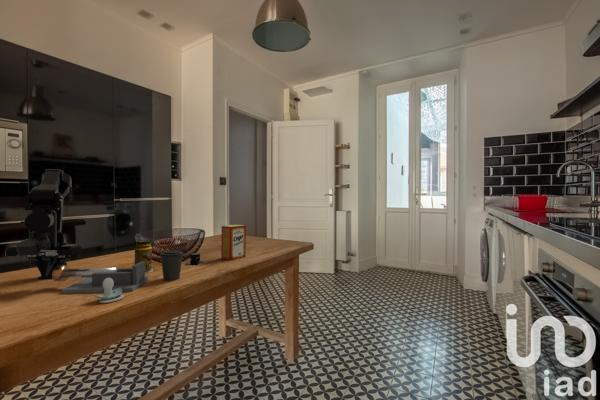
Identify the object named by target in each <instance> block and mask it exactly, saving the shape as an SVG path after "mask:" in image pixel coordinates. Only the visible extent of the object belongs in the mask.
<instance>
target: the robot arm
mask: <svg viewBox="0 0 600 400" xmlns="http://www.w3.org/2000/svg"><path fill="white" fill-rule="evenodd" d="M72 187H73V183H72V177H71V175H70V174H68V173H67V172H64V170H61V169H55V168H47V169H44V172H43V173H42V175H41V181H40V184H39V185H36V186H34V187H32V188H31V190H30V191H29V192H28V193H27V196H26V197H27V198H26V203H25V208H24V210H25V211H29V212H30V211H31V213H29V214H28V215H27V216H26V217H25V219H24V225H25V227H26V228H27V229H28V230H30V231H31V232H29V234H28V237H27V238H26V239H24V240H22V241H20V242H19V243H18V244H16V245H12V246H8V247H7V248H6V249H5V252H4V253H5V254H4V255H5V257H17V256H21V257H22V256H26V257H25V258H26V259H28V260H31V261H32V262H34V264H35V265H36V267H37V269H38V271H39V274H40V276H37V279H53V278H52V273H53V270H54V268H55V267H56V266H64V265H66V266H68V262H66V260H68V259H70V258H71V256H73V255H76V254H79V253H82V251H83V250H82V246H81V245H80V244H79V243H68V242H67V239H66V238H65V236H64V234H63V233H62V228H63V227H62V226H63V215H64V214H63V213H64V199H65V197H67V196H68V194H69V193H70V188H72Z"/></svg>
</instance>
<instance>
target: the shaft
mask: <svg viewBox="0 0 600 400" xmlns="http://www.w3.org/2000/svg"><path fill="white" fill-rule="evenodd" d="M118 268H119V267H87V268H86V267H81V268H80V267H79V268H78V267H77V268H74V267H73V268H69V266H68V265H67V266H66V265H64V266H56V267H55V268H54V270H53V273H52V278H51V279H52V280H53V281H54V282H66V281H67V280H68V279H80V278H81V279H85V278H92V274H93V273H101V272H118Z"/></svg>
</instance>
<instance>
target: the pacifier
mask: <svg viewBox="0 0 600 400" xmlns="http://www.w3.org/2000/svg"><path fill="white" fill-rule="evenodd" d="M102 285H103V288H104V292H103V294H104V295H94V294H93V297H94V298H96V299H100V300H99V303H101V304H107V303H108V304H110V303H113V302H117V301H120V300H122V299H123V298H124V297H125V295H124V294H122V293H123V292H122V289H121V288H116V289H114V290H112V287H113V285H114V282H113V280H112V279H111V278H106V279H105V280H104V281H103V283H102Z"/></svg>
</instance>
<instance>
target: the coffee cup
mask: <svg viewBox="0 0 600 400" xmlns="http://www.w3.org/2000/svg"><path fill="white" fill-rule="evenodd" d="M184 254H185V253H184V252H183V251H182V250H181V251H180V250H176V249H171V250H166V251H164V252H163V251H162V252H160V254H159V257H160V258H161V259H160V260H161V270H162V279H163V281H167V282H171V281H177V280H179V279H180V278H181V272H182V271H181V270H182V263H183V261H182V260H183V255H184Z"/></svg>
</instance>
